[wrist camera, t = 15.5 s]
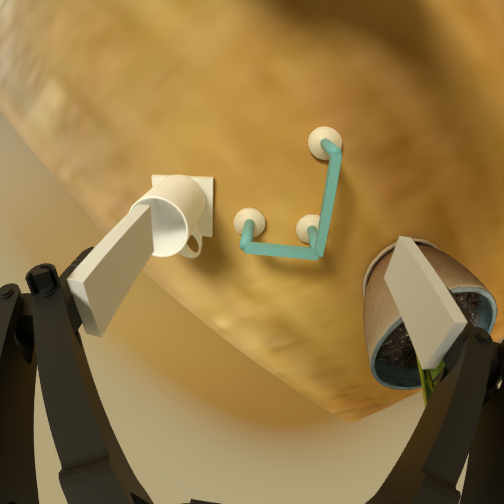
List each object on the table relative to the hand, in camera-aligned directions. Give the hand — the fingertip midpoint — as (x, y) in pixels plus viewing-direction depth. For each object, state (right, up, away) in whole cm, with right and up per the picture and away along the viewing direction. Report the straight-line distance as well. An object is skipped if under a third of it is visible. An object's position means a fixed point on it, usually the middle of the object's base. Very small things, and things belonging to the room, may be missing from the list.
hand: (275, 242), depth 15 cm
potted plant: (+27, -4, +35) cm, 45 cm away
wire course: (+4, +10, +29) cm, 31 cm away
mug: (-12, +7, +31) cm, 34 cm away
